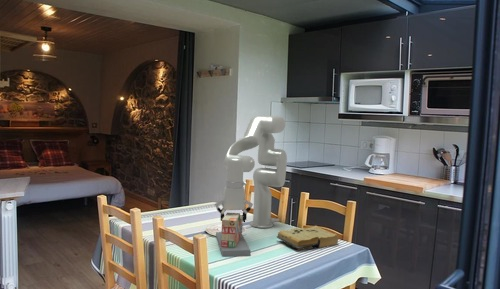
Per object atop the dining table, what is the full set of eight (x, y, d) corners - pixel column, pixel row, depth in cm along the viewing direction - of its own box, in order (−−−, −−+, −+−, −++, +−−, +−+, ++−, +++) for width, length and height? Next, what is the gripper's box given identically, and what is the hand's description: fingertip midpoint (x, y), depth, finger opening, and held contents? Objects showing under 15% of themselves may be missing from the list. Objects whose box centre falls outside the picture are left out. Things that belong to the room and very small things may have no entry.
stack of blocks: (229, 232, 186) (230, 207, 185) (242, 233, 185) (243, 208, 184) (220, 247, 164) (221, 219, 164) (235, 248, 164) (236, 220, 163)
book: (316, 235, 196) (316, 224, 195) (338, 245, 181) (339, 233, 181) (275, 242, 183) (276, 230, 182) (297, 253, 169) (297, 240, 168)
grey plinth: (240, 236, 188) (240, 231, 188) (250, 255, 162) (250, 250, 162) (216, 237, 186) (216, 232, 185) (222, 256, 160) (222, 250, 160)
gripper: (251, 183, 177) (250, 219, 179) (214, 183, 174) (213, 219, 176) (254, 186, 170) (253, 223, 172) (216, 186, 167) (215, 224, 168)
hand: (233, 221), depth 174 cm, fingers open, 9 cm apart
